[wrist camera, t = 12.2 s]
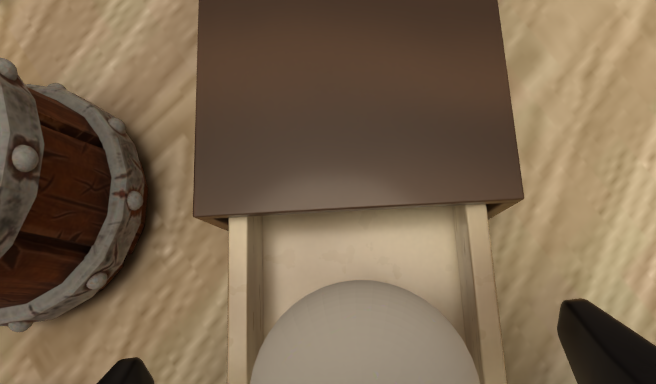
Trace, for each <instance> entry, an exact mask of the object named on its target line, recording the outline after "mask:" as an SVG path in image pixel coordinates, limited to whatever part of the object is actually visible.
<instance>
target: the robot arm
mask: <svg viewBox="0 0 656 384" xmlns="http://www.w3.org/2000/svg"><path fill="white" fill-rule="evenodd" d="M557 331H558V336H559V339H560V342H561V344H562V347H563V349H564V351H565V354H566V356H567V359H568V361H569V364H570V366H571V369H572V371H573V374H574V376H575V378H576V381H577V383H578V384H656V346H655V345H653V344H652V343H650V342H649V341H648V340H646V339H645V338H643V337H642V336H640V335H639V334H637V333H636V332H634V331H633V330H631V329H630V328H628V327H627V326H625V325H624V324H622V323H621V322H619V321H618V320H616V319H615V318H613V317H612V316H610V315H609V314H607V313H606V312H604V311H603V310H601V309H600V308H598V307H597V306H595V305H594V304H592V303H591V302H589V301H588V300H585V299H582V298H579V299H572V300H565V301H563V302H562V304H561V308H560V314H559V320H558V325H557ZM97 384H154V380H153V378H152V376H151V374H150V373H149V371H148V369H147V368H146V366H145V365H144V363H143V361H142V360H141V359H140V358H137V357H135V358H127V359H122V360H120V361H118V362H117V363H116V364H115V365H114V366H113V367H112V368H111V369H110V370H109V371H108V372H107V373H106V374H105V375H104V377H103V378H102V379H101V380H100V381H99V382H98V383H97Z"/></svg>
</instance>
